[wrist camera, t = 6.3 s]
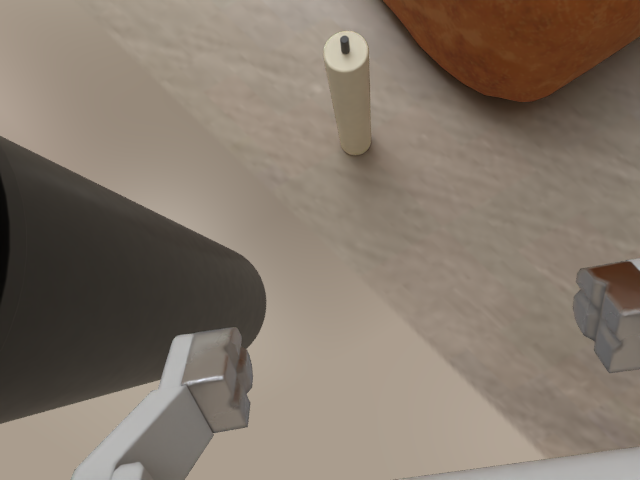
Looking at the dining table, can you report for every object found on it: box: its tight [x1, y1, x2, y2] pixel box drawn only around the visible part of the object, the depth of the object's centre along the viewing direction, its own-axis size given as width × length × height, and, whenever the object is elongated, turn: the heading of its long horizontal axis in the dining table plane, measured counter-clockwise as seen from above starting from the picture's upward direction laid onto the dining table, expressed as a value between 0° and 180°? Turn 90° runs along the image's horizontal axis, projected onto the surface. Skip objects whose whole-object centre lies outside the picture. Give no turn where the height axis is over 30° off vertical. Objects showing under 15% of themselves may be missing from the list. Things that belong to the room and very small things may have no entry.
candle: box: [323, 31, 371, 155], centre depth 21 cm, size 2×2×9 cm
